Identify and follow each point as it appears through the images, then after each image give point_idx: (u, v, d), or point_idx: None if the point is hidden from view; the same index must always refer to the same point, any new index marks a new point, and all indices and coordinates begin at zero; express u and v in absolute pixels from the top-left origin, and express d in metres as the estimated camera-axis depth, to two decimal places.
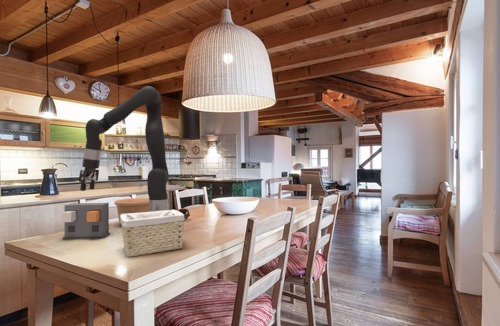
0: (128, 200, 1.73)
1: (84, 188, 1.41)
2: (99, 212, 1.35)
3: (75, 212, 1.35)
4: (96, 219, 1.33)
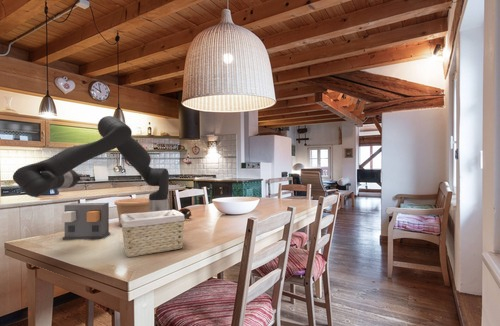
0: (128, 200, 1.73)
1: None
2: (99, 212, 1.35)
3: (75, 212, 1.35)
4: (96, 219, 1.33)
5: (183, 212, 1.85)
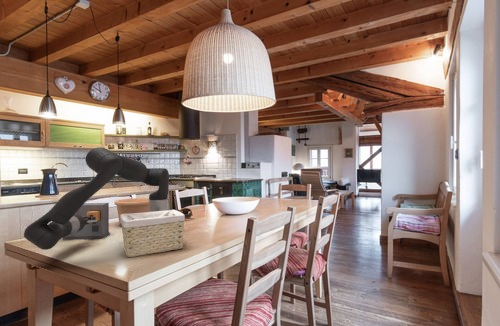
0: (128, 200, 1.73)
1: (91, 215, 1.30)
2: (99, 212, 1.36)
3: None
4: (96, 218, 1.33)
5: (184, 212, 1.85)
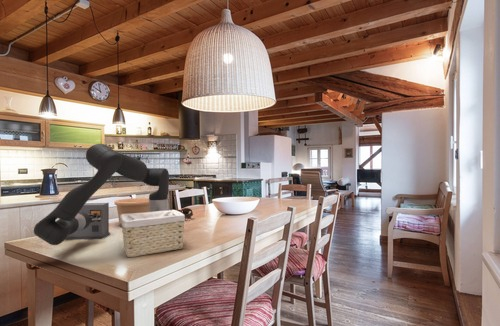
0: (128, 200, 1.73)
1: (96, 213, 1.35)
2: None
3: None
4: None
5: (185, 212, 1.86)
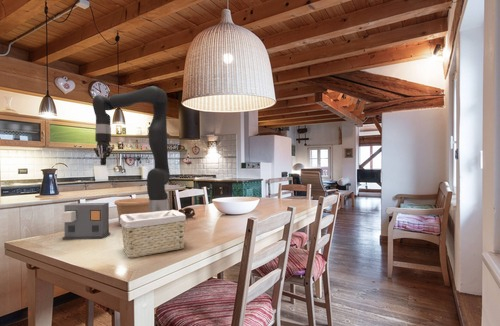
0: (128, 200, 1.73)
1: None
2: None
3: (75, 212, 1.35)
4: (100, 217, 1.37)
5: (186, 211, 1.87)
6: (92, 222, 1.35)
